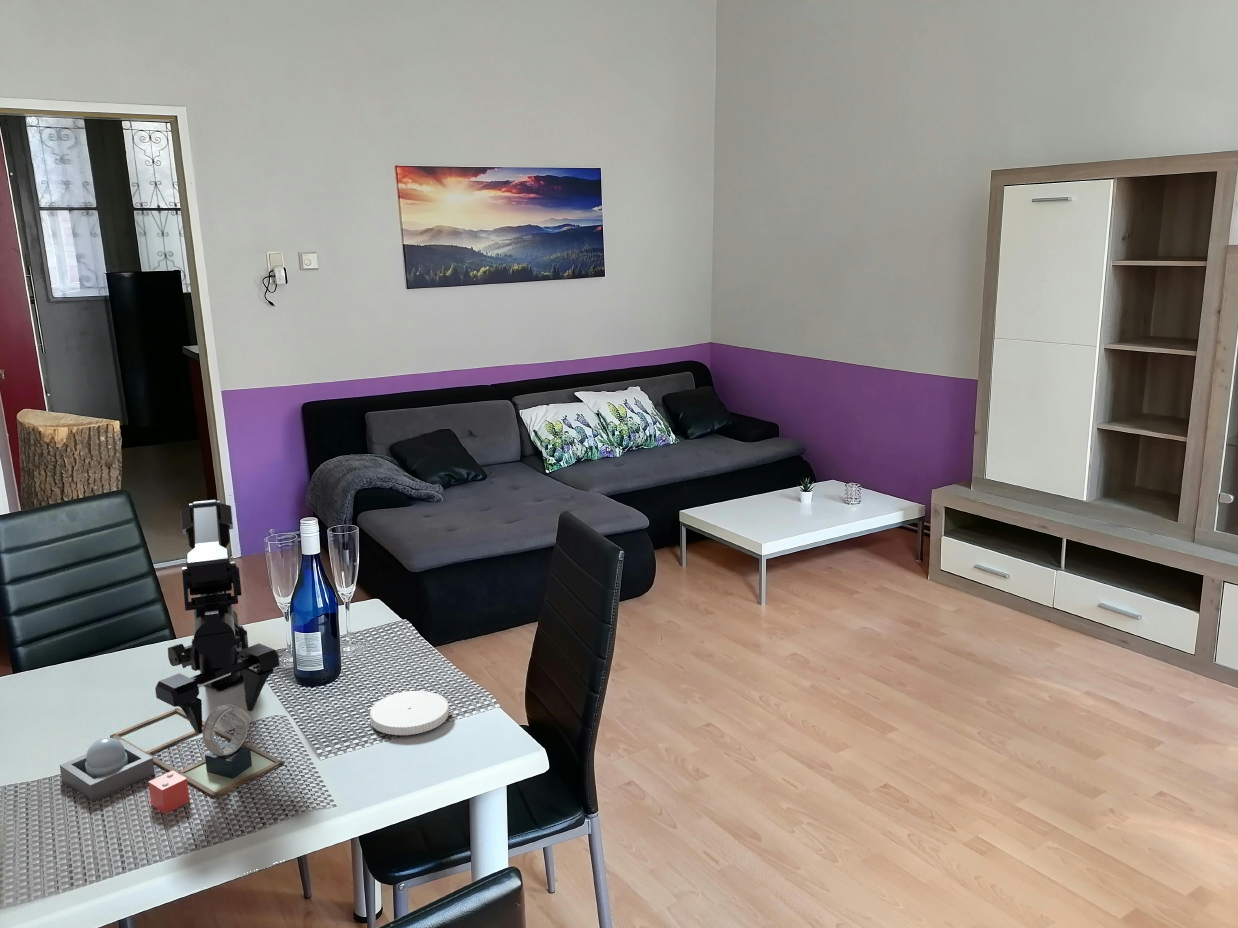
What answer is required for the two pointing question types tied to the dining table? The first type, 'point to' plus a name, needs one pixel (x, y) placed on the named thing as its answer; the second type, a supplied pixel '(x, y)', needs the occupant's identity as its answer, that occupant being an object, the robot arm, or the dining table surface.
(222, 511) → the robot arm
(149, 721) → the brown flat frame
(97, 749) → the dome button
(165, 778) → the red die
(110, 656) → the dining table surface
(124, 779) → the dome frame
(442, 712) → the plastic lid
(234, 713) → the watch
